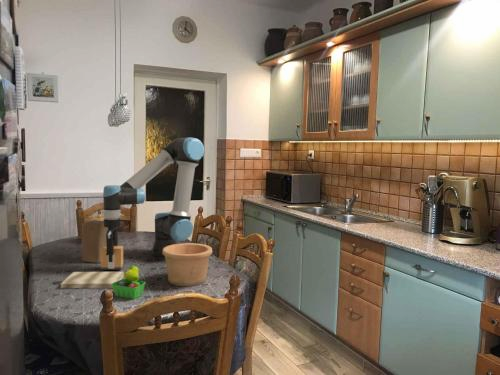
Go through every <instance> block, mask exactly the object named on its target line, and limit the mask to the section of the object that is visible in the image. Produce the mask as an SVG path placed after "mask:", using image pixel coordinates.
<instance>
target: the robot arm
mask: <svg viewBox="0 0 500 375" xmlns="http://www.w3.org/2000/svg"><path fill="white" fill-rule="evenodd" d="M204 155H205V146H204V144H203V143H202V141H201V140H200V139H198V138H195V137H191V136H190V137H178V138H175V139H173V140H172V141H171V142H169V143H168V144H167V145H165V146H164V147H162V149H161V150H160V153H159V154H158V155H156V156H155V157H153V159H151V160H150V161H149V162H148V163H146V165H144V166H143V167H142V168H140V170H138V171H137V172H136V173H135V174H133V175H132V176H131V177H130V178H128V179H127V180H126V181H125V182H123V183H122V184H121V185H116V184H115V185H113V184H112V185H108V184H107V185H105V186H104V187H103V194H102V196H103V197H102V198H103V200H102V201H103V211H101V212H102V213H101V214H103V217H104V218H105V219H104V227H107V228H108V231H107V234H106V239H107V253H106V255H108V269H107V270H115V269H114V255H113V254H114V246H119V245H118V244H119V243H118V240H119V239H118V235H119V233H118V232H119V229H118V228H119V227H121V216H122V215H121V213H122V212H121V207H122V206H125V205H127V206H130V205H139V204H140V205H141V204H142V205H143V204H144V203H145V201H146V192H145V190H144V189H143V187H144V186H145V185H146V184H148V182H150V181H151V180H152V179H154V178H155V177H156V176H157V175H158V174H159V173H161V172H162V171H163V170H164V169H165V168H166V167H168V166H169V165H170V164H171V165H173V164H174V163H177V165H178V168H177V176H176V183H175V190H174V196H173V203H172V210H170V211H167V212H158V213H156V214H155V216H154V241H153V245H152V247H151V255H153V256H155V257H163V258H164V257H165V256H164V255H163V254H162V251H163V248H165V247H167V246H170V245H173V244H178V241H179V242H182V241H186V240H187V239H189V238H190V237H191V235H192V233H193V232H194V224H193V223H192V221H191V219H192V214H190V212H189V210H190V205H191V198H192V192H193V186H194V185H193V184H194V179H195V178H194V177H195V171H196V170H195V169H196V167H198V166H199V165H200V160H201V159H202V158H203V157H204Z"/></svg>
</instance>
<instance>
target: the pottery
mask: <svg viewBox="0 0 500 375" xmlns="http://www.w3.org/2000/svg"><path fill="white" fill-rule="evenodd" d="M162 254H163V255H164V256H165V258H164V259H165V265H166V274H167V281H168V283H170V284H171V285H172V286H177V287H195V286H199V285H202V284H204V283H205V282H206V281H207V273H208V268H209V262H210V257H211V255H212V254H213V248H212V247H211V246H209V245H207V244H204V243H193V242H188V243H187V242H184V243H183V242H182V243H177V244H173V245H170V246H167V247H165V248H163V251H162Z"/></svg>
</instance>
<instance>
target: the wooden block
mask: <svg viewBox="0 0 500 375" xmlns="http://www.w3.org/2000/svg"><path fill="white" fill-rule="evenodd" d="M107 231H108V228H107V227H104V221H98V220H92V221H84V222H83V223H82V224H81V260H82V262H84V263H95V264H101V248H102V247H103V246H107V239H106V234H107Z"/></svg>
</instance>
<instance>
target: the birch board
mask: <svg viewBox="0 0 500 375" xmlns="http://www.w3.org/2000/svg"><path fill="white" fill-rule="evenodd" d="M124 277H125V272H124V271H73V272H72V273H70V275H68V276H67V277H65V278H66V279H65V280H64V281H63V282H62V283H61V284H60V289H61V288H79V289H113V286H112V283H114V282H116V281H119V280H121V279H124Z"/></svg>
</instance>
